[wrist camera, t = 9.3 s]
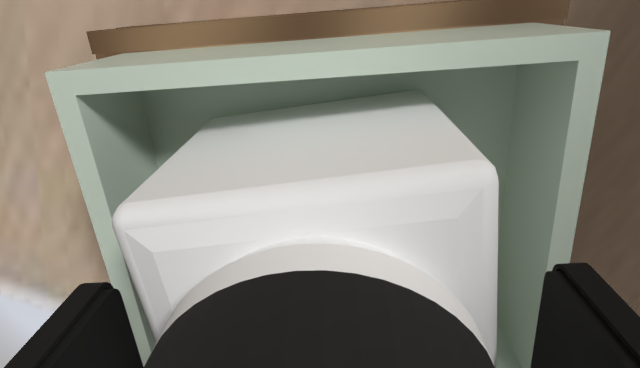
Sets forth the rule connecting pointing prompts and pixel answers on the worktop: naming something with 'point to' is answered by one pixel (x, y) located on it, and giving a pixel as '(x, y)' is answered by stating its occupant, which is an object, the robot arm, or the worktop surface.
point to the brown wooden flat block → (326, 25)
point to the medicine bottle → (319, 241)
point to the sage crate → (354, 82)
